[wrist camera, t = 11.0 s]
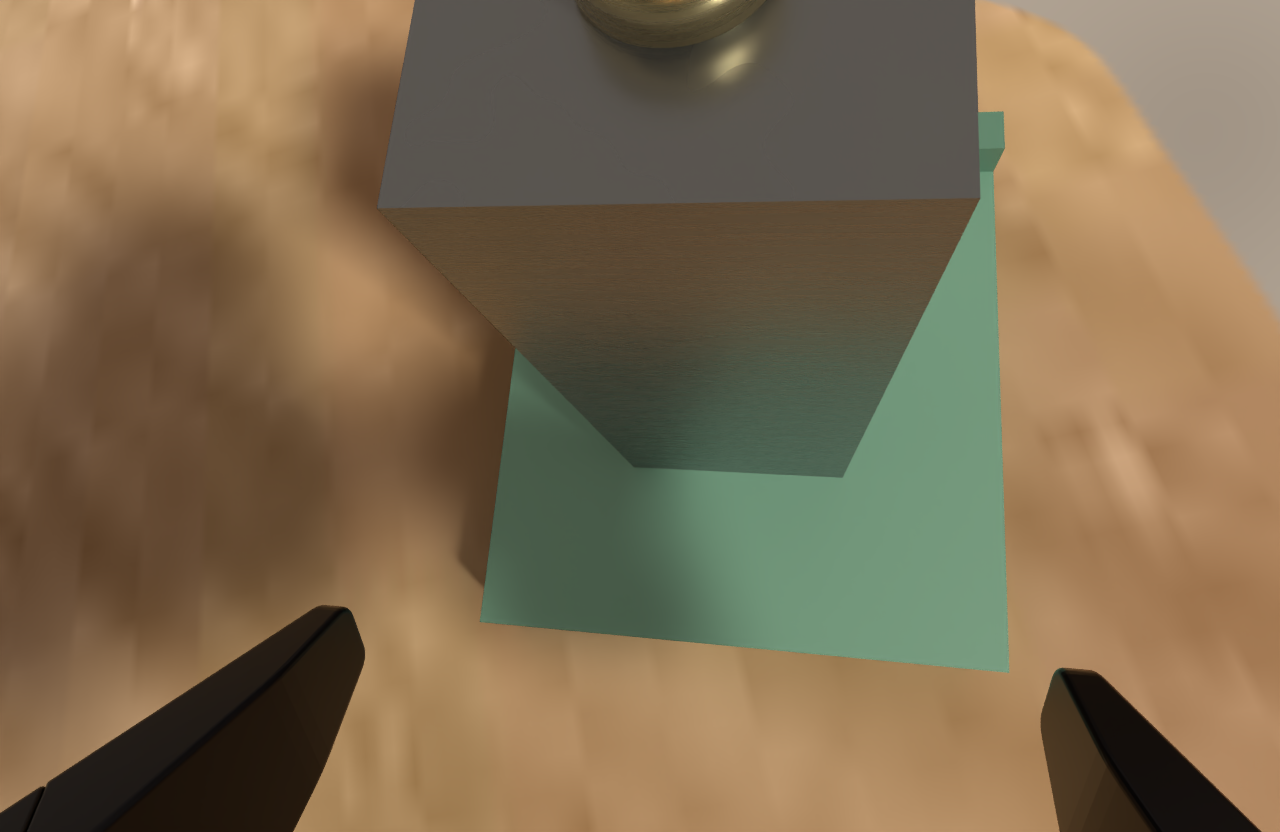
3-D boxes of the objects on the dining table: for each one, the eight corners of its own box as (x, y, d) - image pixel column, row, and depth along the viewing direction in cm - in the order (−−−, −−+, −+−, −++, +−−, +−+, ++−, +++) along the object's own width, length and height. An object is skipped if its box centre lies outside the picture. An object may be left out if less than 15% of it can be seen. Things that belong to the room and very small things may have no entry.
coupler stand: (979, 664, 18) (1023, 676, 15) (514, 620, 21) (463, 622, 17) (968, 189, 21) (1003, 111, 18) (564, 196, 24) (530, 128, 20)
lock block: (842, 477, 18) (1012, 133, 5) (634, 467, 19) (323, 156, 6) (846, 280, 19) (989, -406, 6) (649, 279, 20) (420, -315, 7)
